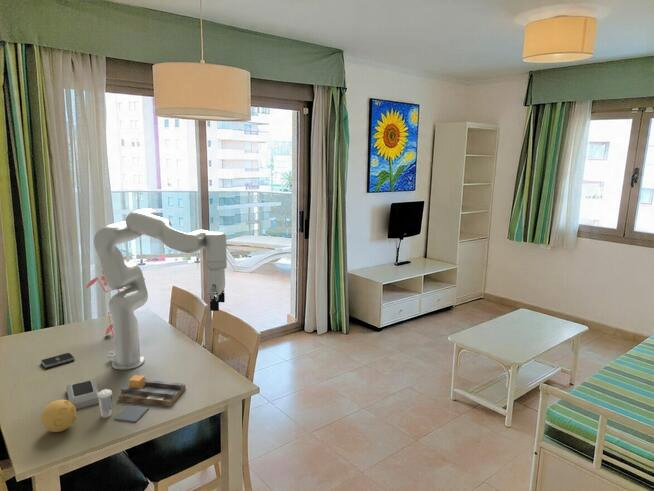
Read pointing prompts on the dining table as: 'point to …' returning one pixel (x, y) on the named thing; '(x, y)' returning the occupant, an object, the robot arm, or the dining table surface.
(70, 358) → the external hard drive
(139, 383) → the switch tab
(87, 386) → the grey electronic device
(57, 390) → the dining table surface
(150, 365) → the dining table surface
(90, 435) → the dining table surface
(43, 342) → the dining table surface
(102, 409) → the milkshake
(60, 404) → the stress ball
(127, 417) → the mat
